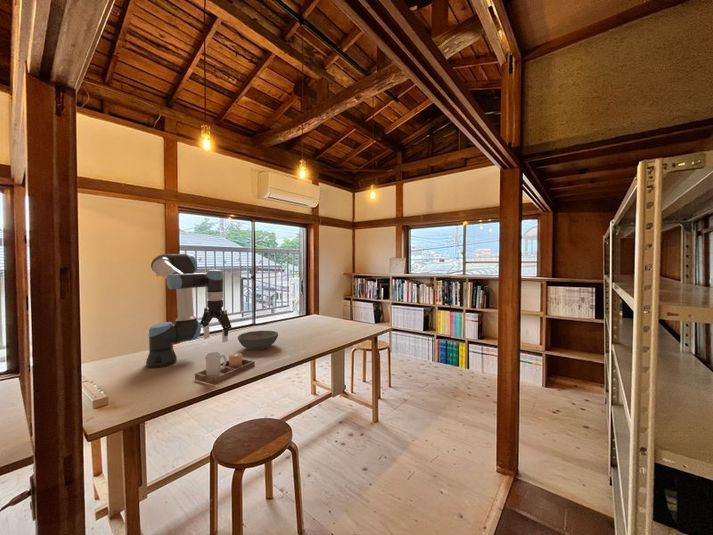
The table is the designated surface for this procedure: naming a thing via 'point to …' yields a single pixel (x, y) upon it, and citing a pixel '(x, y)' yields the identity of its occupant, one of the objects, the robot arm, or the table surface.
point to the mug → (214, 364)
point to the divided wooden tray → (224, 372)
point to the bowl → (257, 339)
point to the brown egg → (235, 360)
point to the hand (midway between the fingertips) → (215, 340)
